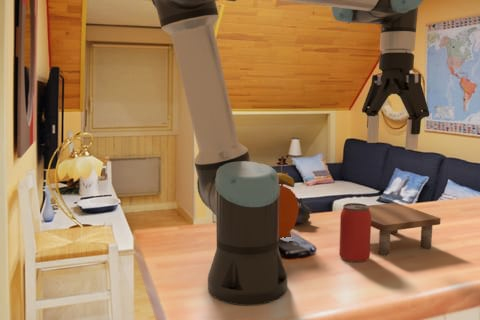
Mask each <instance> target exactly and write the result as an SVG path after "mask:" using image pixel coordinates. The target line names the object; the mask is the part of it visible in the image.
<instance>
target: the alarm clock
mask: <svg viewBox="0 0 480 320" xmlns="http://www.w3.org/2000/svg"><path fill="white" fill-rule="evenodd" d="M271 163H273V161H270V162H268V164H271ZM277 163H280V170H281V171H280V172H277V174H278V178H279V187H280V194H279V235H278V240H279V239H280V238H282V237H284V238H286V237H291V236H292V235H291V234H292V233H291V231H292V230H293V228H294V227H295V225H296V224H297V223H296V220H297V218H298V211H299V207H298V200H299V199H298V200H297V198H298V197H297V195H296V193H294V192H293V190H291V189H290V188H289V187H291V188H295V180H294V178H293V177H291V176H290V175H289V173H288V172H286V173H284V172H283V166H282V165H283V164H282V161H281V160H280V161H278V160H277ZM260 164H264V162H263V163H262V162H261V163H260ZM286 186H287V187H286ZM296 197H297V198H296Z"/></svg>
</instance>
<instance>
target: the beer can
mask: <svg viewBox="0 0 480 320" xmlns="http://www.w3.org/2000/svg"><path fill="white" fill-rule="evenodd" d="M339 218H340V220H339V221H340V222H339V223H340V224H339V252H338V253H339V254H338V255H339V257H340V258H341V259H342V260H344V261H345V262H350V263H364V262H367V261H368V260H370V256H371V255H370V254H371V252H370V251H371V233H372V230H371V229H372V227H371V213H370V210H369V205H367V204H364V203H360V202H359V203H356V202H349V203H344V204H343V208H342V209H341V213H340V217H339Z"/></svg>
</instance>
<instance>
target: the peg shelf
mask: <svg viewBox="0 0 480 320" xmlns="http://www.w3.org/2000/svg"><path fill="white" fill-rule="evenodd" d="M368 206H369V210H370V213H371V228H373V229H376V230H379V233H378V234H379V235H378V237H379V238H378V254H379V255H380V256H389V255H390V253H391V251H390V248H391V235H398V234H399V231H401V230H407V229H408V230H409V229H417V228H421V229H420V244H419V245H420V246H419V247H420V248H422V249H425V250H431V249H432V242H433V241H432V239H433V226H437V225H441V218H442V217H441V218H440V217H439V216H434V215H433V214H429V213H426V212H423V211H420V210H418V209H415V208H412V207H410V206H407V205H404V204H400V203H398V202H390V203H379V204H370V205H368Z"/></svg>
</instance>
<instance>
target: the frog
mask: <svg viewBox="0 0 480 320" xmlns="http://www.w3.org/2000/svg"><path fill="white" fill-rule="evenodd" d="M296 198H297V200H298V207H299V211H298V218H297V220H296V223H295V224H301V223H304V222H305V223H307V222H308V221H309V220H310V218H311V214H312V212H313V208H312V207H310V206H307V205H306V204H305V203H303V201H302V197H300V198H299V197H297V196H296Z"/></svg>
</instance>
